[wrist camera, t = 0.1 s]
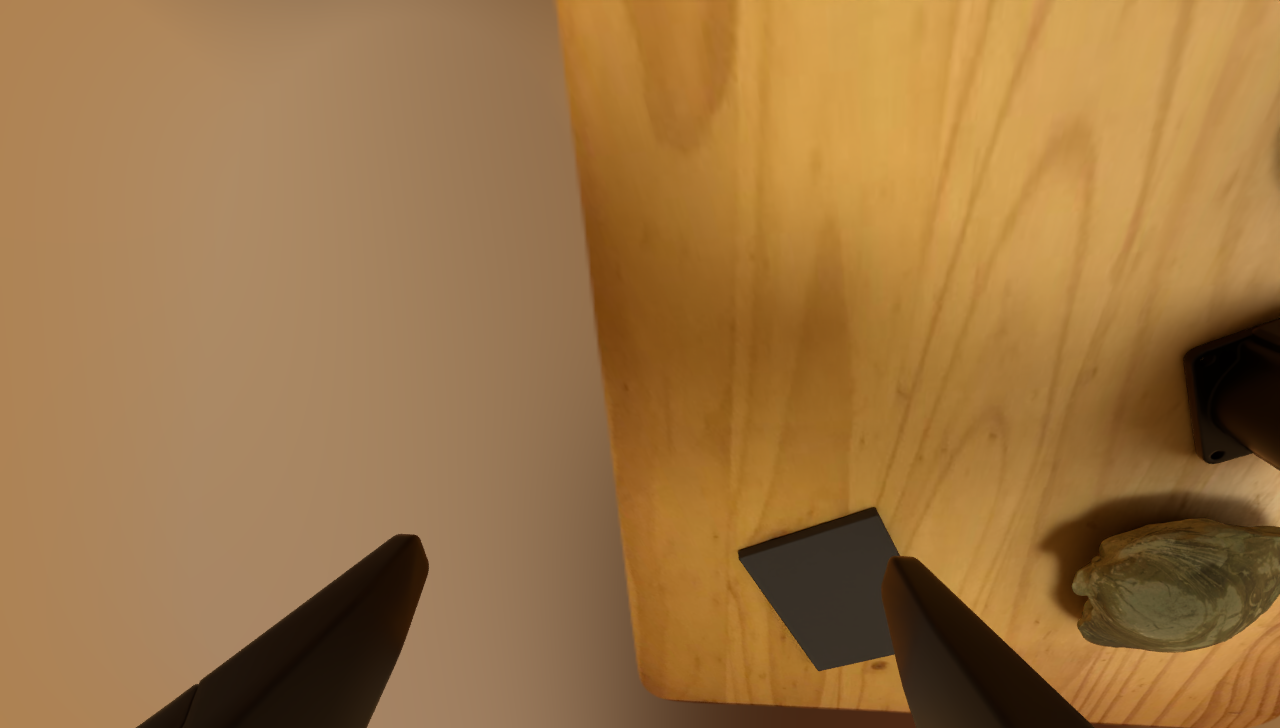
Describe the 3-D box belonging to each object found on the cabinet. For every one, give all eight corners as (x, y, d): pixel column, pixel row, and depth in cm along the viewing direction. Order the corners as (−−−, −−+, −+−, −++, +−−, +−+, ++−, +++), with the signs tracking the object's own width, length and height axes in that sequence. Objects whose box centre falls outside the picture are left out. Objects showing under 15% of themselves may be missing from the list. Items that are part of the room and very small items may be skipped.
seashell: (1206, 673, 28) (1230, 795, 21) (1048, 585, 32) (1023, 660, 25) (1327, 522, 24) (1404, 605, 17) (1132, 449, 29) (1130, 491, 22)
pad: (940, 634, 31) (944, 643, 30) (816, 662, 33) (818, 671, 33) (875, 506, 26) (878, 515, 26) (737, 550, 29) (738, 559, 28)
